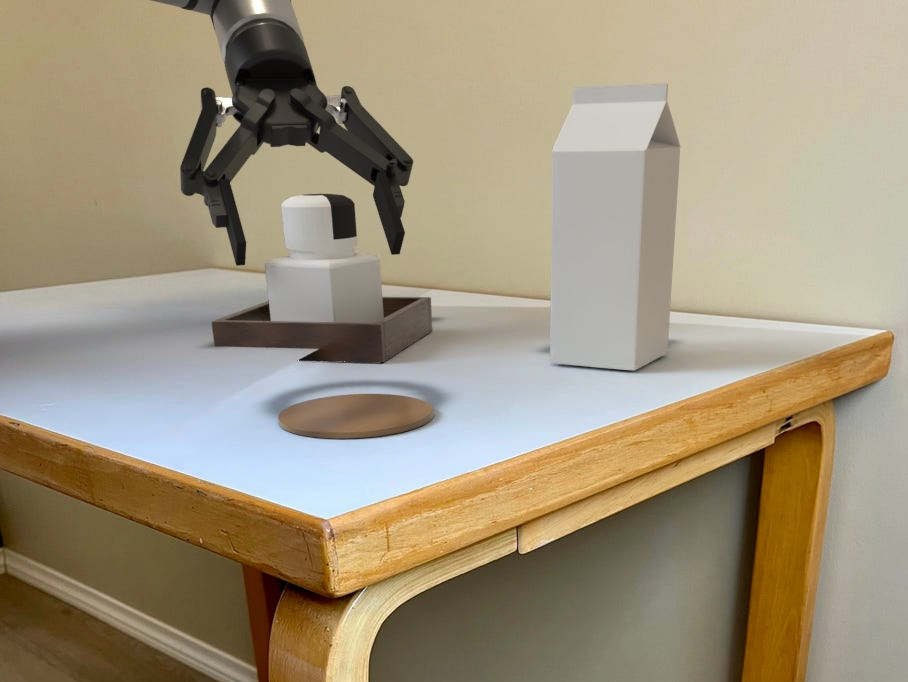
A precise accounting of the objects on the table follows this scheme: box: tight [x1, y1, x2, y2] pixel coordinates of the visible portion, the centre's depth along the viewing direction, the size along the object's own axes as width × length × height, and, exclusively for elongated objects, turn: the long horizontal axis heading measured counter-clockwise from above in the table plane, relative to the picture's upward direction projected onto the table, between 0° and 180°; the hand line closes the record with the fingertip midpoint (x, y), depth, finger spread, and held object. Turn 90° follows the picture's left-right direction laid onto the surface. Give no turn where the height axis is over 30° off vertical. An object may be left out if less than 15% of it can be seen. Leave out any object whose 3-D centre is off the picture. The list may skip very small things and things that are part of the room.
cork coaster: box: [277, 393, 435, 440], centre depth 65 cm, size 10×10×1 cm
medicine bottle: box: [264, 193, 384, 323], centre depth 85 cm, size 7×7×12 cm
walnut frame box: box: [211, 296, 433, 363], centre depth 88 cm, size 15×15×3 cm
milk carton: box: [549, 82, 681, 371], centre depth 75 cm, size 7×7×19 cm
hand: (321, 249), depth 85 cm, fingers open, 13 cm apart
